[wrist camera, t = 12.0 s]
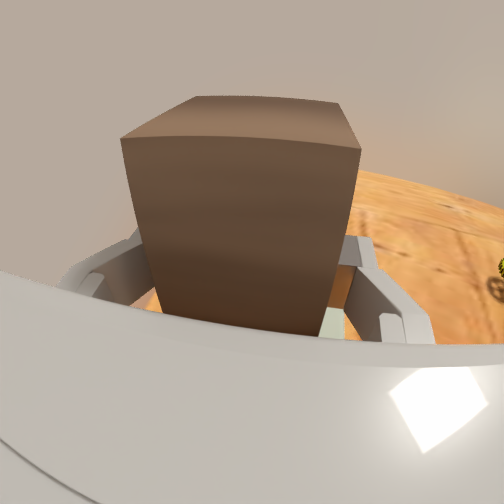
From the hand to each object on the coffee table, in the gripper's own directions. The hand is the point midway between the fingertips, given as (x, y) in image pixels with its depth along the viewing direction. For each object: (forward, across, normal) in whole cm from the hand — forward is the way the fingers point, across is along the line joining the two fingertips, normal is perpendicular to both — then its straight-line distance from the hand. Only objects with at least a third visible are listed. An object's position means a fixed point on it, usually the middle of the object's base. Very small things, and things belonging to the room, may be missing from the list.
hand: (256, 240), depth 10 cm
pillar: (-1, 0, -6) cm, 6 cm away
